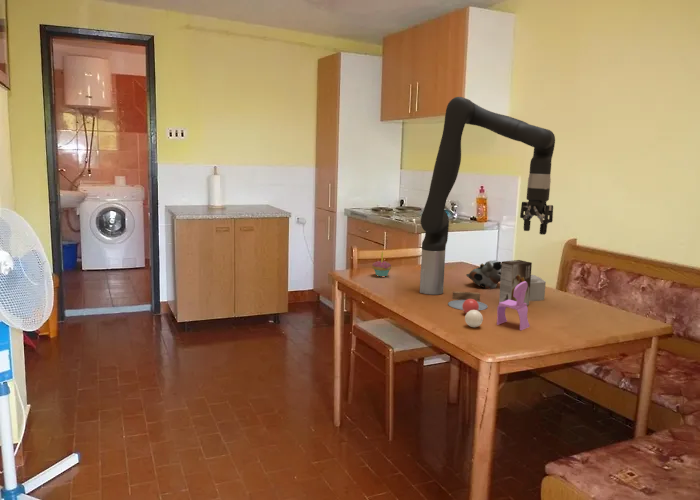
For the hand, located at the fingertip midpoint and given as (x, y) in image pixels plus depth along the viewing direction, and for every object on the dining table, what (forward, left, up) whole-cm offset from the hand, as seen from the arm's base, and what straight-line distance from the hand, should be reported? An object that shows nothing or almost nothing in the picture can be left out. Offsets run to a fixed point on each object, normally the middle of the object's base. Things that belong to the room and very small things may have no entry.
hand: (534, 232), depth 195 cm
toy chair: (-9, -25, -28) cm, 38 cm away
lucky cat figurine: (-12, +30, -28) cm, 42 cm away
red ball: (-22, -15, -24) cm, 36 cm away
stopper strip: (-22, +6, -27) cm, 35 cm away
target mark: (-22, -3, -27) cm, 35 cm away
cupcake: (-57, +38, -27) cm, 74 cm away
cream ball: (-22, -29, -24) cm, 44 cm away
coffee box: (-5, +2, -27) cm, 28 cm away
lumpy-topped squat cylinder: (+1, +14, -28) cm, 31 cm away
